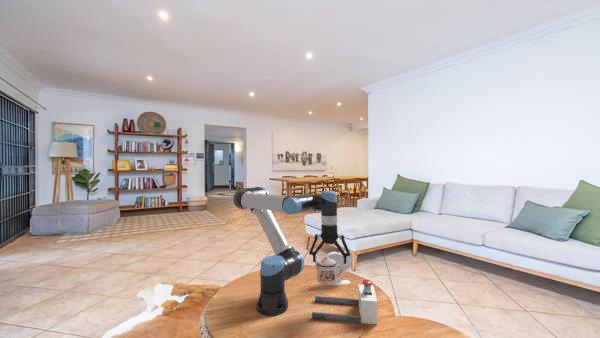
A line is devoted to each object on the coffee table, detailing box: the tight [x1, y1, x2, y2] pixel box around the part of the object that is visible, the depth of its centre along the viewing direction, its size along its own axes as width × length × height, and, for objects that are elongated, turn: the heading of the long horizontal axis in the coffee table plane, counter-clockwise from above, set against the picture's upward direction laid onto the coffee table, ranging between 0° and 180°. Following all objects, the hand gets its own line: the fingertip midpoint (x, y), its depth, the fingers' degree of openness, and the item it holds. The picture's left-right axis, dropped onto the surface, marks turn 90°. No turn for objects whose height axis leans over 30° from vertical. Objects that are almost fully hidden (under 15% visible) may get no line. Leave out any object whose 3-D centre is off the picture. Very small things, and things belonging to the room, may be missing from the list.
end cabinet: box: [357, 283, 379, 325], centre depth 125 cm, size 7×16×10 cm, turn 172°
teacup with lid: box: [316, 255, 343, 286], centre depth 127 cm, size 12×9×12 cm
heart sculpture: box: [325, 250, 354, 286], centre depth 158 cm, size 16×5×18 cm, turn 101°
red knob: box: [362, 279, 373, 295], centre depth 124 cm, size 4×4×7 cm
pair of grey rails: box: [311, 295, 362, 324], centre depth 127 cm, size 22×16×2 cm
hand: (329, 269), depth 127 cm, fingers closed on teacup with lid, 12 cm apart
